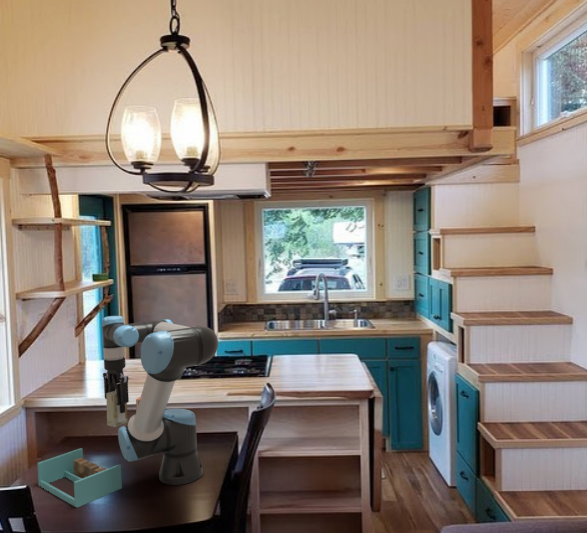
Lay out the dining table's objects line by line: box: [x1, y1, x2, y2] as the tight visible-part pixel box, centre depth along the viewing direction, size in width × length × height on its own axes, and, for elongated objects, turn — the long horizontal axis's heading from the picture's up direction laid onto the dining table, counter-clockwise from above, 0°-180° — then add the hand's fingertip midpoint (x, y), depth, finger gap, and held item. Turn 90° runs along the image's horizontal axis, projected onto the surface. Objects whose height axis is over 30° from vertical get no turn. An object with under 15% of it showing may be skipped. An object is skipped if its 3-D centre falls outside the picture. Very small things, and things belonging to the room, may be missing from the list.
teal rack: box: [37, 447, 123, 508], centre depth 177 cm, size 26×16×8 cm, turn 51°
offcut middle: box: [83, 461, 100, 478], centre depth 181 cm, size 5×3×6 cm, turn 51°
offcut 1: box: [73, 457, 90, 479], centre depth 185 cm, size 5×3×6 cm, turn 51°
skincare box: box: [105, 391, 128, 428], centre depth 193 cm, size 6×4×12 cm
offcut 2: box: [94, 466, 107, 474], centre depth 176 cm, size 5×3×6 cm, turn 51°
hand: (117, 419), depth 193 cm, fingers closed on skincare box, 5 cm apart
